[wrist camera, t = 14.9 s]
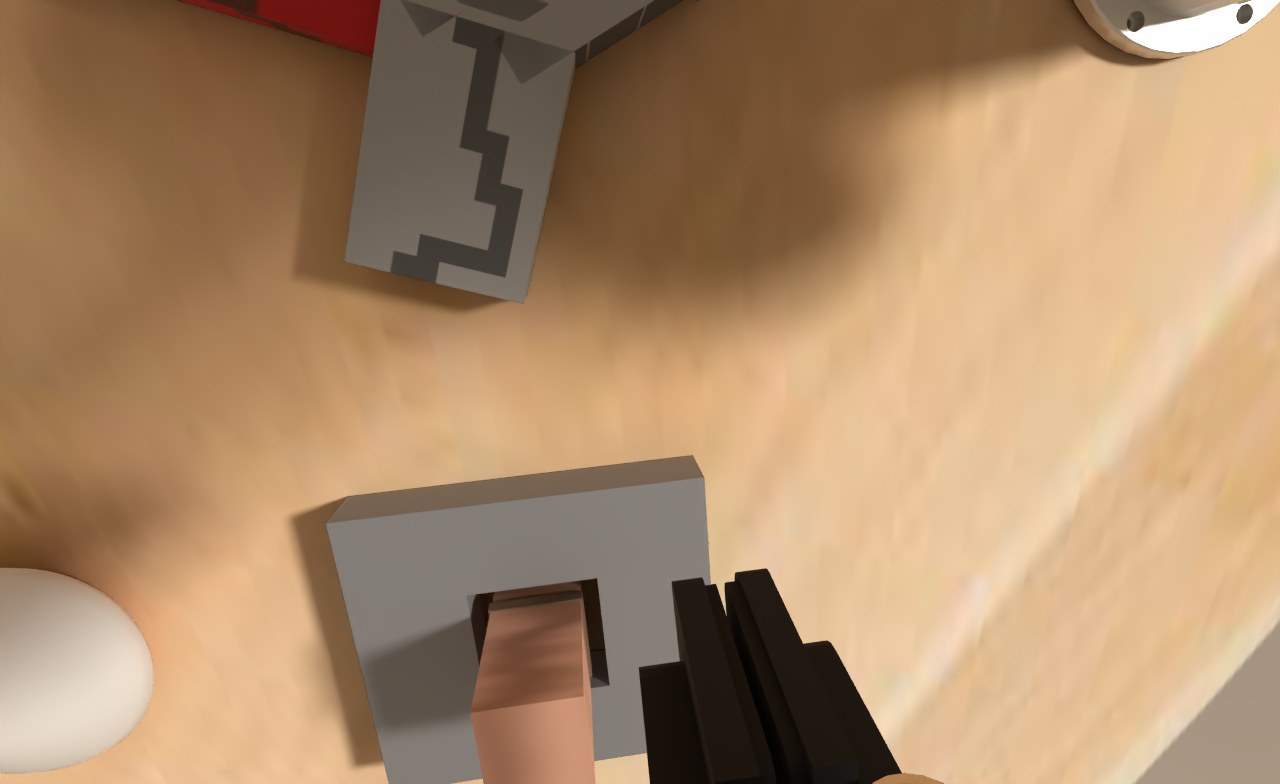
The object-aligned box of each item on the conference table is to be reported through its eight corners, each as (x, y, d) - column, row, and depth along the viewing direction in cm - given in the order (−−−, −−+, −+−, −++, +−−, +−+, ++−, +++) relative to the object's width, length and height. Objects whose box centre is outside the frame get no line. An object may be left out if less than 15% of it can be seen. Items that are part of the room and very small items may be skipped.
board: (692, 455, 34) (704, 477, 31) (709, 701, 39) (720, 741, 36) (347, 496, 33) (325, 523, 30) (404, 747, 37) (391, 792, 34)
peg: (581, 563, 35) (585, 693, 26) (590, 636, 36) (597, 786, 27) (495, 574, 35) (467, 711, 25) (507, 647, 36) (485, 804, 26)
